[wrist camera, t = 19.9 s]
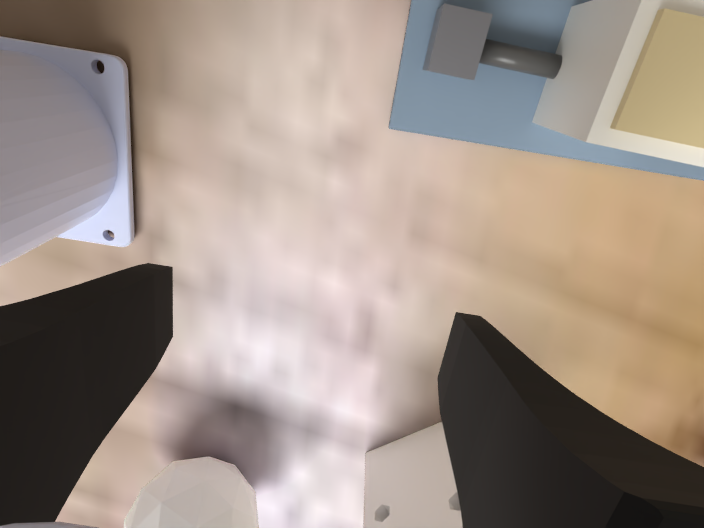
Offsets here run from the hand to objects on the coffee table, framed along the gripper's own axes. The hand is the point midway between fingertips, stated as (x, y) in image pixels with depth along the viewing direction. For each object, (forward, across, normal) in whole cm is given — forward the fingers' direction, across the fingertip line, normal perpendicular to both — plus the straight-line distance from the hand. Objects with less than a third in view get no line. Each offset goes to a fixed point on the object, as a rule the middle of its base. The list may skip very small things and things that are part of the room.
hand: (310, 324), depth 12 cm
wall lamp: (+9, -7, -7) cm, 13 cm away
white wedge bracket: (+10, -7, +13) cm, 18 cm away
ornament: (+10, +5, +17) cm, 20 cm away
